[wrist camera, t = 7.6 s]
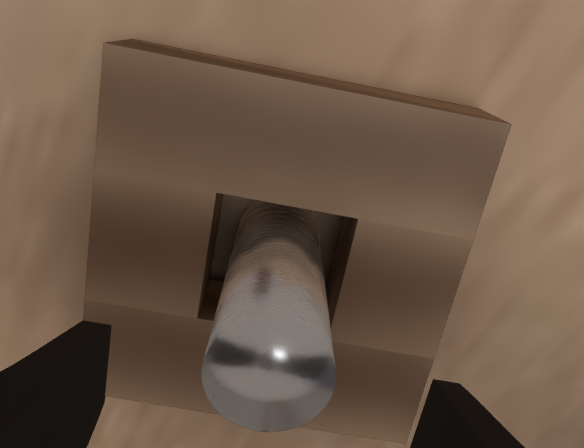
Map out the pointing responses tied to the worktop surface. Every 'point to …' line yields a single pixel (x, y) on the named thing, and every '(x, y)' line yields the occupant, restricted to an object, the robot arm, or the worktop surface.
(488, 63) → the worktop surface
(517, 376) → the worktop surface
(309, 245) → the peg
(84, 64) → the worktop surface
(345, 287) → the hole block
